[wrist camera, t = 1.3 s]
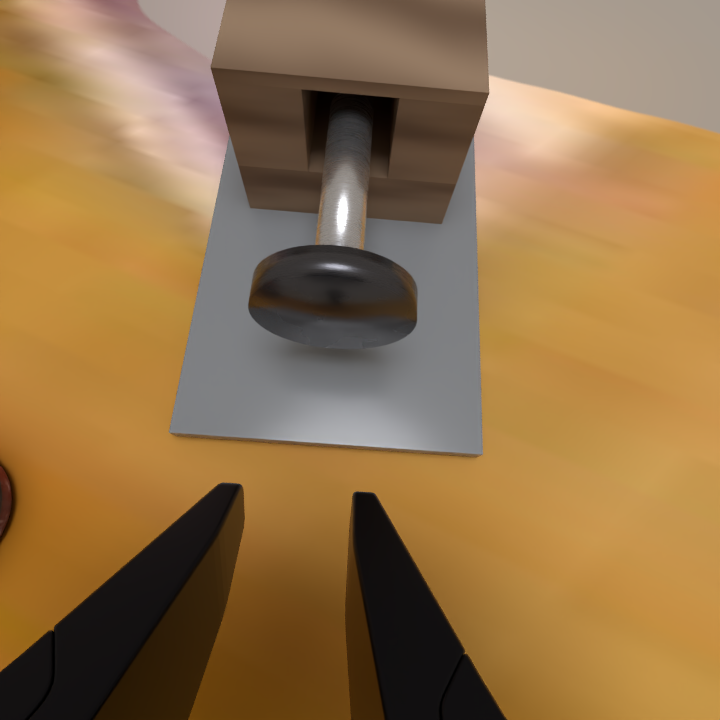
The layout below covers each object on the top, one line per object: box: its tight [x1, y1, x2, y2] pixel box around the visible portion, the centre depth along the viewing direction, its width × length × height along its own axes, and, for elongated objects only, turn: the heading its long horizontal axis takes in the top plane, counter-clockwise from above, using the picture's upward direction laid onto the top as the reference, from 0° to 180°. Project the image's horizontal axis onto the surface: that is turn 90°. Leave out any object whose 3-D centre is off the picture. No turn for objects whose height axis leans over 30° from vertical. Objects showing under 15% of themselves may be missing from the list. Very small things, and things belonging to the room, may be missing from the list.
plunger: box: [248, 93, 418, 349], centre depth 19 cm, size 11×6×6 cm, turn 176°
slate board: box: [169, 136, 483, 457], centre depth 26 cm, size 23×15×1 cm, turn 176°
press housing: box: [211, 0, 489, 224], centre depth 23 cm, size 10×11×8 cm
